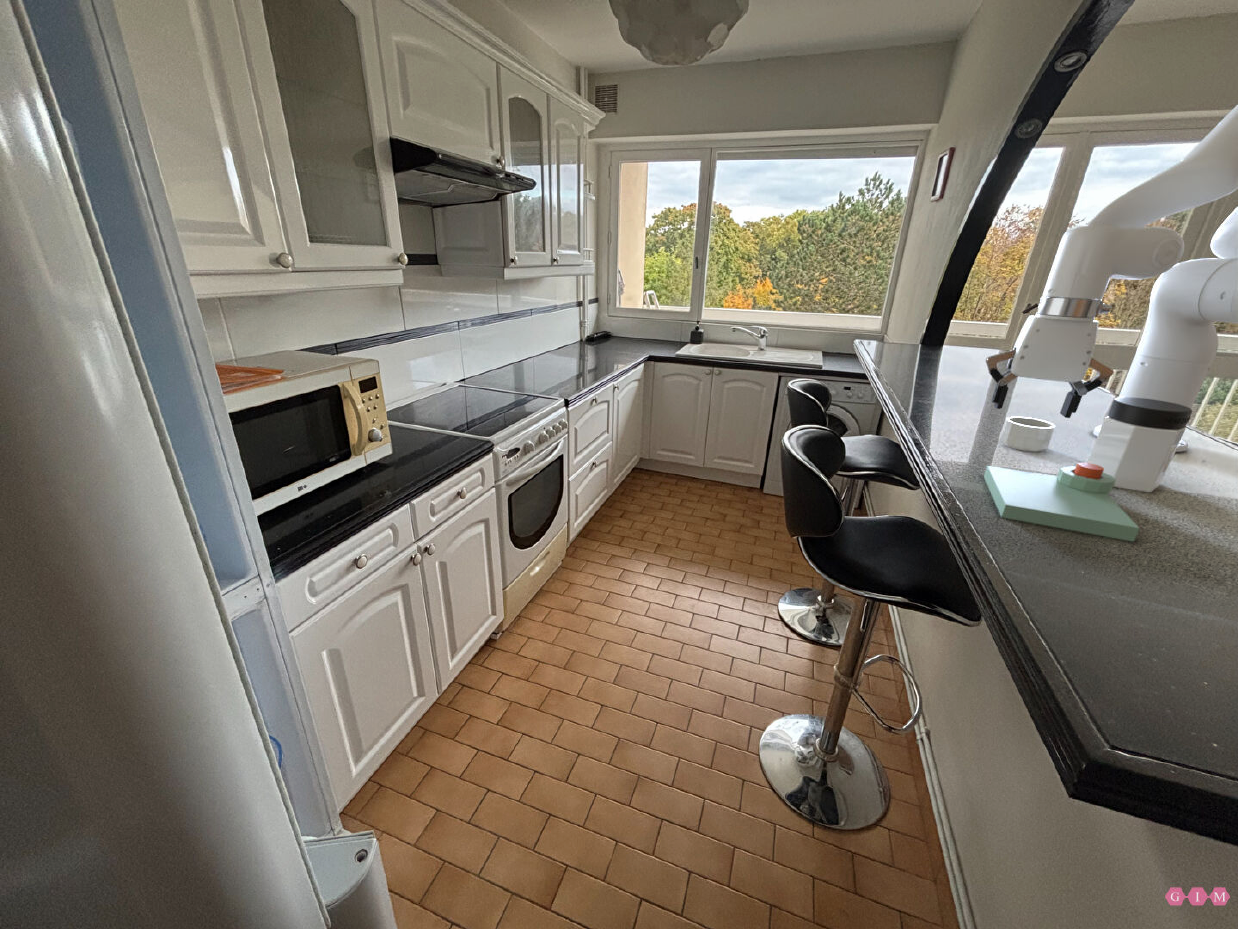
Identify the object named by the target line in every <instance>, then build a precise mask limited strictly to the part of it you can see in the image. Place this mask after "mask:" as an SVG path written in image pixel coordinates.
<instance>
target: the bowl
mask: <svg viewBox="0 0 1238 929" xmlns="http://www.w3.org/2000/svg"><path fill="white" fill-rule="evenodd" d="M1055 429H1056V425H1055V424H1054V423H1052V422H1049V421H1046V420H1043V419H1038V418H1032V417H1025V416H1009V417H1007V418H1006V419H1005V422H1004V425H1003V429H1002V432H1001V435H1000V438H999V440H1000V442H1002V443H1003V444H1004V445H1005V446H1006V447H1008V448H1011V449H1015V450H1019V451H1024V452H1032V453H1033V452H1037V453H1038V452H1042V451H1044V450H1047V449H1048V448H1049V446H1050V443H1051V440H1052V438H1053V435H1054V431H1055Z"/></svg>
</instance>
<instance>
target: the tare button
mask: <svg viewBox="0 0 1238 929" xmlns="http://www.w3.org/2000/svg"><path fill="white" fill-rule="evenodd" d="M1103 471H1104V468H1103V467H1101V466H1098V465H1095V464H1091V463H1087V462H1077V463H1076V468H1075V471H1074V474H1077V475H1079V476H1083V477H1087V478H1093V479H1100V478H1101V476H1102V473H1103Z"/></svg>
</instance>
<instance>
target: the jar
mask: <svg viewBox="0 0 1238 929" xmlns="http://www.w3.org/2000/svg"><path fill="white" fill-rule="evenodd" d="M1192 413H1193V409H1192V408H1191V409H1190V408H1188V407H1186V406H1183V405H1179V404H1175V403H1170V402H1165V401H1160V400H1153V399H1145V398H1133V397H1120V398H1118V397H1116V398H1114V399H1113V400H1112V403H1111V406H1110V408H1109V411H1108V413H1107V416H1105V417H1104V418H1103V421H1102V423H1101V425H1100V426H1101V428H1100V431H1099V434H1098V436H1096V438H1095V441H1094V443H1093V446H1092V448H1091V451H1090V454H1089V456H1088V459H1087V462H1086V463H1091V464H1095V465H1098V466H1101V467H1103V468H1104V471H1103V473H1106V474H1108V475H1111V476H1112V477H1113V478H1114V479H1115V480H1116V481H1115V484H1114V486H1113V488H1118V489H1124V490H1130V491H1131V490H1132V491H1136V492H1137V491H1138V492H1144V493H1152V492H1153V491H1154V490H1155V489H1157V488H1158V487H1160V486H1161V483H1162V481H1163V479H1164V477H1165V475H1166V472H1167V470H1168V468H1169V466H1170V464H1171V462H1172V460H1173V458H1174V456H1175V454H1176V453H1177V452H1176V449H1177V446H1178V444H1179V442H1180V440H1181V439H1183V436H1184V434H1185V431H1186V429H1187V425H1188V423H1189V422H1190V419H1191V418H1192V417H1191V415H1192Z"/></svg>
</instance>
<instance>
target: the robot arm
mask: <svg viewBox="0 0 1238 929" xmlns="http://www.w3.org/2000/svg"><path fill="white" fill-rule="evenodd" d="M1237 190H1238V104H1236V105H1235V106H1234V107H1233V108H1232V110H1230V111H1229V113H1227V114H1226V115H1225V116H1224V117H1223V118H1222V119H1221V120H1220V121H1219V122H1218V123H1217V125H1216V126H1214V128H1213V129H1212V130H1211V131H1210V132H1209V133H1208V134H1207V135H1205V137H1204V138H1202V140H1201V141H1200V142H1198V144H1196V145H1195V147H1193V149H1191V151H1190V152H1189V153H1188V154H1186V155H1185V157H1183V158H1182V159H1181V160H1180V161H1179V162H1177V163H1176V164H1174V165H1173V166H1170V167H1169V168H1167V169H1165V170H1163V171H1161V172H1159V173H1157V174H1156V175H1154V176H1152V177H1150V178H1149V179H1147V180H1145V181H1144V182H1142V183H1140V184H1139V185H1137V186H1135V187H1133V188H1132V189H1130V190H1128V191H1127V192H1125V193H1123V194H1122V195H1120V196H1118V197H1117V198H1116V199H1113V201H1110V202H1109V204H1107V205H1106V206H1105V207H1104V208H1103V209H1101V210H1100V211H1099V212H1098V213H1097V214H1096V215H1095V216H1094V217H1093V218H1092V219H1091V220H1090V221H1089V222H1088V223H1087V224H1086V225H1080V226H1079V225H1078V226H1075V227H1071V228H1069V229H1068V230H1066V231H1065V232H1064V233H1063V235H1062V237H1061V239H1060V242H1059V245H1058V247H1057V251H1056V252H1055V256H1054V260H1053V262H1052V266H1051V268H1050V271H1049V274H1048V277H1047V280H1046V283H1045V286H1044V289H1043V292H1042V295H1041V297H1040V301H1039V304H1038V307H1037V310H1036V312H1035V315H1029V316H1028V317H1027V319H1026V320H1025V321H1024V324H1023V326H1022V328H1021V329H1020V332H1019V334H1018V336H1017V338H1016V340H1015V343H1014V345H1013V349H1011V350H1006V351H1004V352H1003V351H1002V352H1000V353H997V354H993V355H989V356H988V357H986V358H985V363H986V364H985V365H986V367H987V370H988V373H989V375H990V377H992V379H993V380H994V381H995V383H996V385H995V388H994V392H993V395H992V398H991V403H993V406H994V407H995V409H997V410H1000V409H1003V406H1004V404H1005V400H1006V398H1007V395H1008V392H1009V387H1008V384H1009V383H1010V382H1012V381H1014V380H1016V379H1017V378H1025V379H1034V380H1041V381H1042V380H1043V381H1052V382H1062V383H1068V385H1069V386H1070V387H1071V391H1067V393H1066V396H1065V398H1064V400H1063V403H1062V406H1061V409H1060V412H1059V414H1060V415H1061V416H1062V417H1064V418H1066V419H1071V417H1072V415H1073V414H1075V413H1077V411H1078V408H1079V406H1080V404H1081V401H1082V398H1083V396H1086V395H1087V394H1088V393H1089V392H1092V391H1094V390H1096V389H1098V388H1099V387H1101V386H1102V384H1103V383H1104V382H1106V381H1107V380H1108V379H1109V378H1110V377H1112V376H1113V375H1114V373H1115V371H1114V370H1113V369H1111V368H1110V367H1108V366H1107V365H1106V364H1104V363H1101V362H1100V361H1099V360H1096V359H1095V358H1093V354H1094V351H1095V346H1096V342H1097V338H1098V331H1099V323H1100V322H1099V321H1098V320H1095V319H1096V318H1098V316H1099V315H1102V314H1107V315H1108V314H1109V313H1110V311H1111V310H1112V309H1111V308H1112V305H1111V304H1106V303H1104V300H1103V299H1104V296H1105V293H1106V290H1107V288H1108V285H1109V282H1110V279H1114V280H1145V279H1146V280H1147V279H1151V278H1155V277H1158V278H1157V279H1156V281H1155V282H1154V285H1153V287H1152V290H1151V293H1150V298H1149V299H1150V300H1149V308H1148V314H1147V319H1146V324H1145V326H1144V331H1143V334H1142V336H1141V339H1140V342H1139V344H1138V347H1137V348H1136V352H1135V355H1134V357H1133V359H1132V362H1131V365H1130V366H1129V370H1128V372H1127V375H1126V377H1125V379H1124V383H1123V385H1122V387H1121V390H1120V392H1119V395H1118V397H1117V398H1120V397H1133V398H1145V399H1153V400H1160V401H1165V402H1170V403H1175V404H1179V405H1183V406H1186V407H1188V408H1190V409H1192V408H1193V407H1194V406H1193V405H1194V404H1195V402H1196V399H1197V397H1198V394H1199V392H1200V390H1201V388H1202V386H1203V384H1204V381H1205V379H1206V378H1207V375H1208V373H1209V371H1210V369H1211V366H1212V364H1213V362H1214V360H1215V358H1216V356H1217V353H1218V349H1219V336H1218V333H1217V329H1216V327H1215V322H1218V323H1229V324H1238V206H1237V207H1236V208H1235V209H1234V210H1233V211H1232V212H1231V213H1230V215H1228V217H1227V218H1226V219H1225V220H1224V221H1223V223H1221V225H1220V226H1219V227H1218V229H1217V230H1216V231H1215V233H1214V235H1213V236H1212V238H1211V242H1210V249H1211V252H1212V253H1213V254H1214V255H1215V256H1216V257H1217V258H1216V257H1215V258H1214V257H1212V258H1197V259H1190V260H1186V261H1182V262H1180V263H1179V261H1180V260H1181V258H1182V256H1183V254H1184V251H1185V241H1184V238H1183V236H1182V235H1181V234H1180V233H1179V232H1177V231H1176V230H1174V229H1172V228H1170V227H1169V228H1168V227H1164V226H1148V225H1150V224H1153V223H1155V222H1157V221H1159V220H1161V219H1164V218H1167V217H1170V216H1172V215H1175V214H1179V213H1182V212H1186V211H1187V210H1191V209H1194V208H1198V207H1200V206H1204V205H1206V204H1208V203H1211V202H1215V201H1217V200H1219V199H1221V198H1224V197H1227V196H1228V195H1230V194H1232V193H1234V192H1236V191H1237ZM1007 360H1008V361H1007ZM1004 361H1007V365H1006V369H1007V370H1006V371H1005V372H1003V373H1001V372H1000V371H999V368H998V363H1000V362H1004ZM1089 368H1090V369H1092V370H1094V371H1095V372H1097V373H1096V375H1095V376H1094V377H1093V378H1090V379H1089V380H1086V381H1085V382H1083V381H1082V380H1083V379H1084V378H1085V376H1086V375H1087V372H1088V370H1089ZM1101 426H1102V425H1098V426H1096V427H1094V429H1093V432H1092V433H1093V435H1094V436H1095V437H1097V436H1098V434H1099V431H1100V428H1101ZM1188 446H1189V443H1188V442H1187V441H1186V440H1184V439H1183V438H1181V440H1180V442H1179V444H1178V446H1177V449H1176V452H1175V453H1181V452H1184V451H1186V450H1187V448H1188Z"/></svg>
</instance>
